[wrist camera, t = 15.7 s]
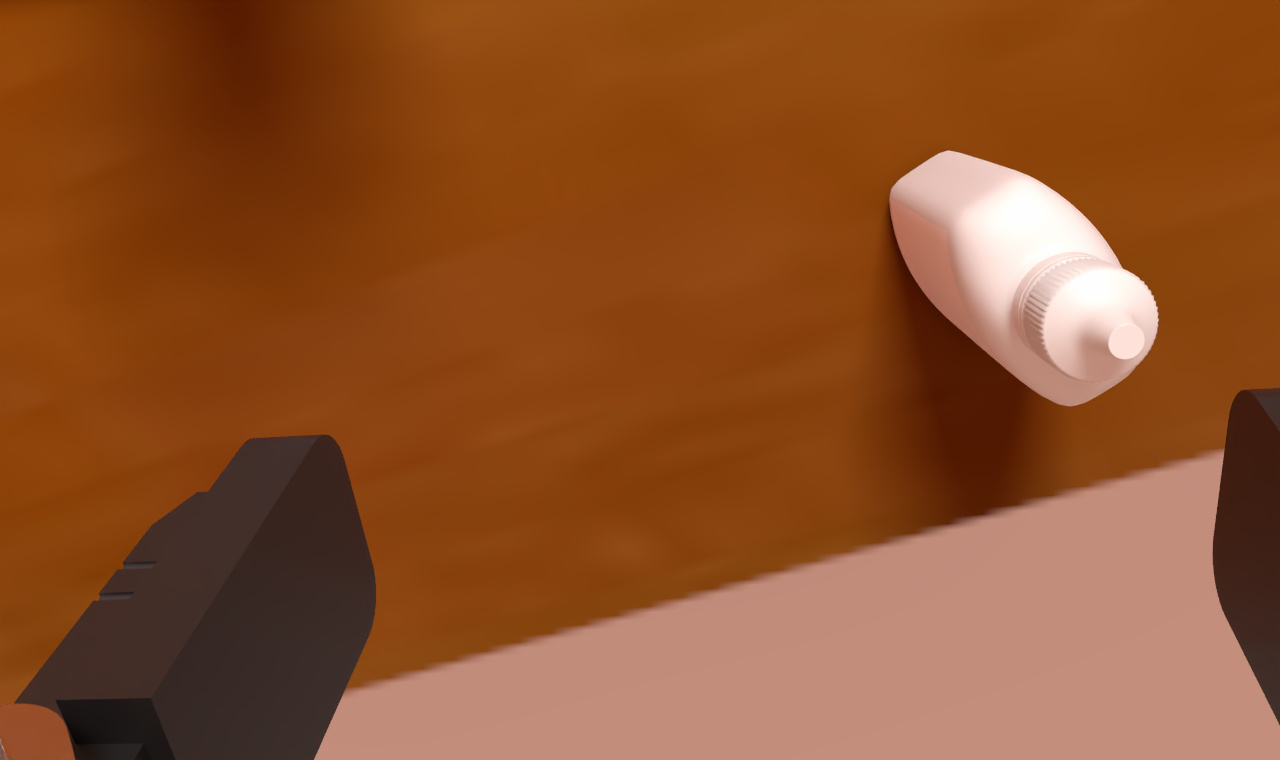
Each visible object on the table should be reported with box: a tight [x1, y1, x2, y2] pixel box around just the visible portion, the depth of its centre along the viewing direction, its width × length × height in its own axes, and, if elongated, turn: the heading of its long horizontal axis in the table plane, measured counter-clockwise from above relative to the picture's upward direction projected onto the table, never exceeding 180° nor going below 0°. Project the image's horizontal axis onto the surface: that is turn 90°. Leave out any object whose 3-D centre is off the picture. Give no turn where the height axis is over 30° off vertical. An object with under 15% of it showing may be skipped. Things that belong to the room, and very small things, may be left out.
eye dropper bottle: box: [889, 151, 1159, 406], centre depth 29 cm, size 4×6×12 cm
